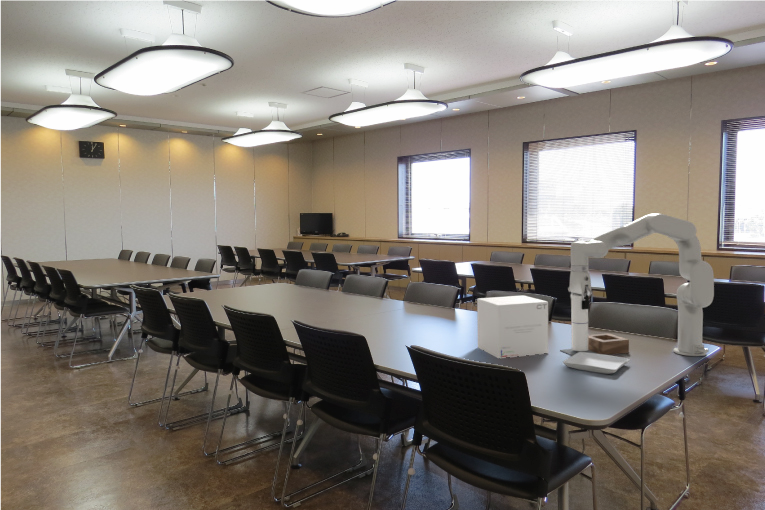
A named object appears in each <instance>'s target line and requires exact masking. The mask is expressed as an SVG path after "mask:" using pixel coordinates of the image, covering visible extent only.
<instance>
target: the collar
mask: <svg viewBox="0 0 765 510" xmlns="http://www.w3.org/2000/svg"><path fill="white" fill-rule="evenodd" d="M588 350H590V351H593V352H595V353H598V354H603V355H610V356H611V355H618V354H627V353H630V339H629V338H625V337H622V336H618V335H615V334H612V333H609V332H608V333H607V332H606V333H599V334H598V333H596V334H588Z"/></svg>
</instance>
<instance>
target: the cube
mask: <svg viewBox="0 0 765 510" xmlns="http://www.w3.org/2000/svg"><path fill="white" fill-rule="evenodd" d="M476 300H477V301H476V303H477V306H476V307H477V308H476V309H477V311H476V312H477V313H476V315H477V316H476V317H477V348H478V349H480V350H481V351H483V350H484V351H483V352H486V353H487V354H489V355H492V356H493V357H495V358H497V359H499V358H500V359H507V358H506V357H510V358H518V357H517V356H519V357H527V356H526V355H529V356H536V355H535V354H539V355H545V354H544V353H548V354H549V301H547V300H544V299H543V300H542V299H540V298H535V297H532V296H528V295H525V294H524V295H509V296H507V295H506V296H495V297H493V296H492V297H481V298H480V297H479V298H477V299H476Z"/></svg>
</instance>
